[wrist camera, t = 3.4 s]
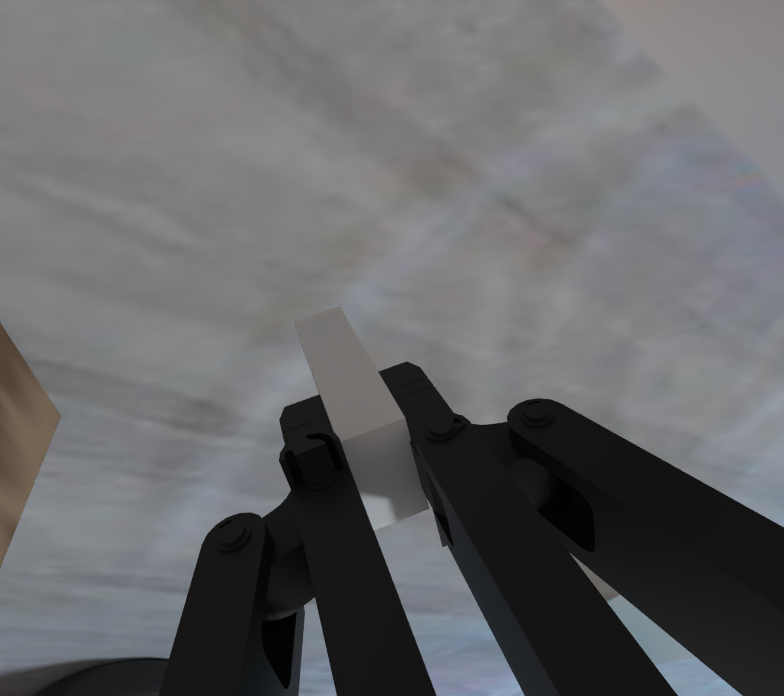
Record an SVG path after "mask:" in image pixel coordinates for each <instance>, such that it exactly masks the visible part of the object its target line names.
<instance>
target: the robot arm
mask: <svg viewBox="0 0 784 696" xmlns="http://www.w3.org/2000/svg"><path fill="white" fill-rule="evenodd" d="M294 324H295V327H296V330H297V333H298V336H299V339H300V341H301V344H302V347H303V350H304V353H305V356H306V358H307V361H308V364H309V367H310V370H311V373H312V376H313V378H314V381H315V384H316V387H317V390H318V393H319V395H317V396H314V397H311V398H308V399H306V400H303V401H300V402H297V403H295V404H292V405H289V406H286V407H284V410H283V412H282V415H281V417H280V420H279V421H280V425H281V430H282V433H283V438H284V442H285V446H284V448H283V449H282V451H281V452H280V458H279V462H280V464H281V467H282V469H283V471H284V474H285V476H286V479H287V481H288V483H289V486H290V488H291V491H290V493H289V495H288V496H287V498H286V499H285V500H284V501H283V502H282V504H281V505H279V506H278V507H277V508H276V509H274V510H273V511H272V512H270V513H269V514H267V515H266V516H264V517H263V518H261V517H260V516H259V515H257V514H254V513H251V512H250V513H239V514H236V515H233V516H230V517H227V518H226V519H224V520H223V521H221V522H220V523H218V524H217V525H215V527H214V528H213V529H212V530H211V531H210V532H209V533H208V534H207V536H206V538H205V540H204V542H203V544H202V546H201V550H200V553H199V557H198V560H197V564H196V567H195V571H194V574H193V578H192V581H191V585H190V588H189V592H188V595H187V599H186V602H185V606H184V609H183V612H182V616H181V619H180V623H179V626H178V630H177V633H176V637H175V640H174V644H173V647H172V651H171V654H170V658H169V661H159V660H141V661H128V662H121V663H115V664H109V665H105V666H101V667H97V668H93V669H90V670H87V671H84V672H81V673H78V674H76V675H73V676H71V677H68V678H66V679H64V680H62V681H60V682H58V683H56V684H54V685H52V686H50V687H48V688H47V689H45V690H44V691H42V692H40V693H39V694H37V695H36V696H298V693H299V681H300V668H301V655H302V642H303V629H304V617H305V611H304V605H305V604H306V603H308V602H309V601H310V600H312V599H313V598H314V597H315V599H316V603H317V608H318V612H319V617H320V621H321V626H322V630H323V635H324V639H325V644H326V648H327V653H328V657H329V662H330V666H331V671H332V675H333V680H334V684H335V689H336V693H337V696H436V693H435V691H434V688H433V685H432V683H431V680H430V677H429V675H428V672H427V670H426V667H425V664H424V662H423V659H422V656H421V654H420V651H419V648H418V646H417V643H416V641H415V638H414V635H413V633H412V630H411V627H410V625H409V622H408V620H407V617H406V614H405V612H404V609H403V606H402V604H401V601H400V599H399V596H398V593H397V591H396V588H395V585H394V583H393V580H392V577H391V575H390V572H389V570H388V567H387V564H386V562H385V559H384V556H383V554H382V551H381V549H380V546H379V543H378V541H377V538H376V535H375V533H374V531H375V530H377V529H380V528H382V527H385V526H387V525H390V524H392V523H395V522H397V521H400V520H402V519H404V518H407V517H409V516H412V515H414V514H417V513H419V512H422V511H424V510H427V509H429V505H428V502H427V499H428V501H429V503H430V504H431V506H432V508H433V512H434V516H435V520H436V524H437V527H438V531H439V535H440V539H441V543H442V546H443V547H444V546H447V545H448V547H449V549H450V551H451V553H452V555H453V557H454V559H455V561H456V563H457V565H458V567H459V569H460V571H461V573H462V574H463V576H464V578H465V580H466V582H467V584H468V586H469V588H470V590H471V592H472V594H473V596H474V598H475V600H476V602H477V604H478V606H479V607H480V609H481V611H482V613H483V615H484V617H485V619H486V621H487V623H488V625H489V627H490V629H491V631H492V633H493V635H494V637H495V639H496V641H497V642H498V644H499V646H500V648H501V650H502V652H503V654H504V656H505V658H506V660H507V662H508V664H509V666H510V668H511V670H512V672H513V674H514V675H515V677H516V679H517V681H518V683H519V685H520V687H521V689H522V691H523V693H524V695H525V696H678V695H677V694H676V693H675V691H674V690H673V689H672V687H671V686H670V685H669V684H668V682H667V681H666V680H665V678H664V677H663V676H662V674H661V673H660V672H659V670H658V669H657V668H656V666H655V665H654V664H653V662H652V661H651V660H650V659H649V657H648V656H647V654H646V653H645V652H644V651H643V649H642V648H641V647H640V645H639V644H638V643H637V641H636V640H635V639H634V637H633V636H632V635H631V633H630V632H629V631H628V629H627V628H626V627H625V626H624V624H623V623H622V622H621V620H620V619H619V618H618V616H617V615H616V614H615V612H614V611H613V610H612V608H611V607H610V606H609V605H608V603H607V602H606V600H605V599H604V598H603V596H602V595H601V594H600V593H599V591H598V590H597V589H596V587H595V586H594V585H593V583H592V582H591V581H590V579H589V578H588V577H587V575H586V574H585V573H584V571H583V570H582V569H581V567H580V566H579V565H578V563H577V562H576V561H575V560H574V558H573V557H572V556H571V554H572V555H573V556H574V557H576V558H577V559H578V560H579V561H581V562H582V563H583V564H584V565H585V566H587V567H588V568H589V569H590V570H591V571H593V572H594V573H595V574H596V575H597V576H599V577H600V578H601V579H602V580H604V581H605V582H606V583H607V584H608V585H610V586H611V587H612V588H613V589H614V590H616V591H617V592H618V593H619V594H620V595H622V596H623V597H624V598H625V599H626V600H628V601H629V602H630V603H631V604H633V605H634V606H635V607H636V608H638V609H639V610H640V611H641V612H642V613H644V614H645V615H646V616H647V617H648V618H649V619H651V620H652V621H653V622H654V623H656V624H657V625H658V626H659V627H661V628H662V629H663V630H664V631H665V632H667V633H668V634H669V635H670V636H671V637H672V638H674V639H675V640H676V641H677V642H679V643H680V644H681V645H682V646H683V647H685V648H686V649H687V650H688V651H689V652H691V653H692V654H693V655H694V656H695V657H697V658H698V659H699V660H700V661H701V662H703V663H704V664H705V665H706V666H708V667H709V668H710V669H711V670H712V671H714V672H715V673H716V674H717V675H718V676H720V677H721V678H722V679H723V680H724V681H726V682H727V683H728V684H729V685H731V686H732V687H733V688H734V689H735V690H737V691H738V692H739V693H740V694H741V695H743V696H784V527H782V526H780V525H778V524H777V523H775V522H773V521H771V520H769V519H768V518H766V517H764V516H762V515H760V514H759V513H757V512H755V511H753V510H751V509H750V508H748V507H746V506H744V505H742V504H741V503H739V502H737V501H735V500H733V499H732V498H730V497H728V496H726V495H724V494H723V493H721V492H719V491H717V490H715V489H714V488H712V487H710V486H708V485H707V484H705V483H703V482H701V481H699V480H698V479H696V478H694V477H692V476H690V475H689V474H687V473H685V472H683V471H681V470H680V469H678V468H676V467H674V466H672V465H671V464H669V463H667V462H665V461H663V460H662V459H660V458H658V457H656V456H654V455H653V454H651V453H649V452H647V451H645V450H644V449H642V448H640V447H638V446H636V445H635V444H633V443H631V442H629V441H627V440H626V439H624V438H622V437H620V436H618V435H617V434H615V433H613V432H611V431H610V430H608V429H606V428H604V427H602V426H601V425H599V424H597V423H595V422H593V421H592V420H590V419H588V418H586V417H584V416H583V415H581V414H579V413H577V412H575V411H574V410H572V409H570V408H568V407H566V406H565V405H563V404H561V403H559V402H556V401H553V400H551V399H540V398H538V399H531V400H526V401H524V402H521V403H519V404H517V405H516V406H514V407H513V408H512V409H511V410H510V412H509V414H508V416H507V421H508V422H503V423H497V424H488V425H477V424H471V422H470V421H469V420H468V419H466V418H465V417H464V416H462V415H458V414H455V413H453V411H452V410H451V409H450V407H449V406H448V404H447V403H446V402H445V400H444V399H443V398H442V396H441V395H440V394H439V392H438V391H437V390H436V388H435V387H434V386H433V384H432V383H431V381H430V380H429V379H428V378H427V376H426V375H425V373H424V372H423V371H422V369H421V368H420V367H418V366H416V365H414V364H411V363H409V362H404V363H401V364H399V365H396V366H393V367H390V368H387V369H385V370H382V371H379V372H378V371H377V369H376V367H375V366H374V364H373V362H372V361H371V359H370V357H369V355H368V354H367V352H366V350H365V349H364V347H363V345H362V344H361V342H360V340H359V338H358V337H357V335H356V333H355V332H354V330H353V328H352V326H351V325H350V323H349V321H348V320H347V318H346V316H345V315H344V313H343V311H342V309H341V308H340V306H339V307H336V308H333V309H330V310H327V311H324V312H321V313H319V314H316V315H313V316H310V317H307V318H304V319H301V320H298V321H295V322H294ZM426 497H427V498H426ZM569 552H570V553H571V554H570V553H569Z"/></svg>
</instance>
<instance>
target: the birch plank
mask: <svg viewBox="0 0 784 696" xmlns="http://www.w3.org/2000/svg"><path fill="white" fill-rule="evenodd" d="M60 417H61V416H60V414H59V413H58V411H57V410H56V408H55V406H54V405H53V403H52V402H51V400H50V399H49V397H48V396H47V394H46V393H45V391H44V390H43V388H42V386H41V385H40V383H39V382H38V380H37V379H36V377H35V376H34V374H33V373H32V371H31V370H30V368H29V366H28V365H27V363H26V362H25V360H24V359H23V357H22V356H21V354H20V353H19V351H18V350H17V348H16V346H15V345H14V343H13V342H12V340H11V339H10V337H9V336H8V334H7V333H6V331H5V329H4V328H3V326H2V325H1V323H0V567H1V565H2V562H3V560H4V557H5V555H6V552H7V550H8V547H9V545H10V542H11V540H12V537H13V535H14V532H15V530H16V527H17V525H18V522H19V520H20V517H21V515H22V512H23V510H24V507H25V505H26V502H27V500H28V497H29V495H30V492H31V490H32V487H33V485H34V482H35V480H36V477H37V475H38V472H39V470H40V467H41V465H42V462H43V460H44V457H45V455H46V452H47V450H48V447H49V445H50V442H51V440H52V437H53V435H54V432H55V430H56V427H57V425H58V422H59V420H60Z"/></svg>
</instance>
